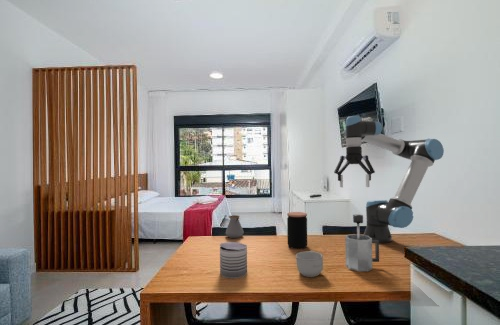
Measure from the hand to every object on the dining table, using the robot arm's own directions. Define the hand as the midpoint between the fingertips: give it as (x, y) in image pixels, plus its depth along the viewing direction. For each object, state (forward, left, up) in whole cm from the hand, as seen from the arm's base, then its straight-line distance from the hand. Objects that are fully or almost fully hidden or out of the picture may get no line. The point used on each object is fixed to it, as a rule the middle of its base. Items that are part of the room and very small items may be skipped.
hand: (354, 187), depth 146 cm
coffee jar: (+29, -7, -33) cm, 44 cm away
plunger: (+7, +24, -30) cm, 39 cm away
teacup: (+29, +30, -33) cm, 53 cm away
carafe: (+5, +24, -33) cm, 41 cm away
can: (+61, +30, -33) cm, 76 cm away
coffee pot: (+64, -24, -33) cm, 76 cm away
